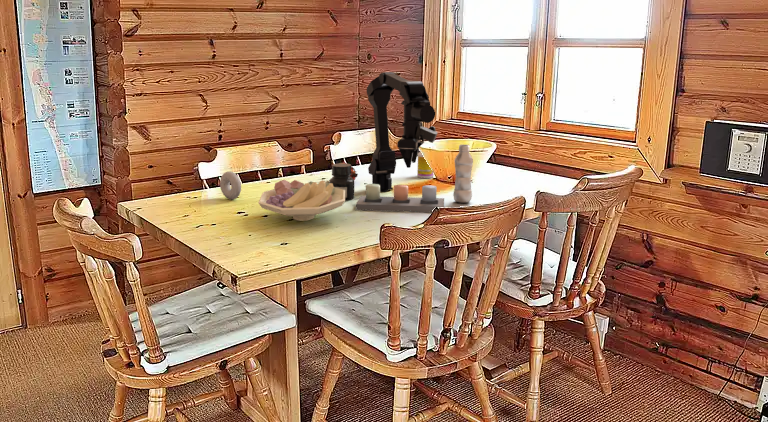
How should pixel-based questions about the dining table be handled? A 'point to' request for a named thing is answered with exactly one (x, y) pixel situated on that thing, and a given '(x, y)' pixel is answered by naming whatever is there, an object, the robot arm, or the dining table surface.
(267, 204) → the dish with food
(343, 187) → the ink bottle
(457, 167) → the plastic bottle
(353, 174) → the dragon fruit
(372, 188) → the sage button
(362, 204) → the button panel
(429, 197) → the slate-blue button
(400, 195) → the terracotta button
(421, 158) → the supplement bottle
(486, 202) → the dining table surface
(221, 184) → the donut
